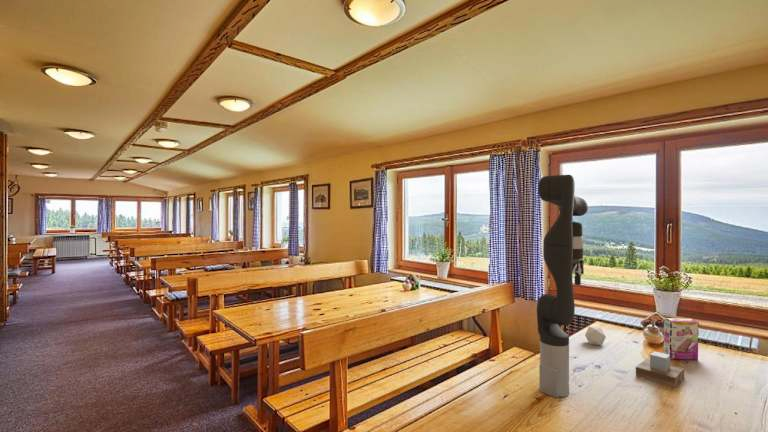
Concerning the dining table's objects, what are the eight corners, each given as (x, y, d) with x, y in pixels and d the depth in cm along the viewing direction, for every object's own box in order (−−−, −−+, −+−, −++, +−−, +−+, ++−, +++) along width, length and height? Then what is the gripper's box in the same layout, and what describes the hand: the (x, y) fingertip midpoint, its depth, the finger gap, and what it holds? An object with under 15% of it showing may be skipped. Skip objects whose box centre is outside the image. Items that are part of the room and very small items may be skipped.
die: (599, 350, 167) (611, 332, 168) (581, 337, 172) (592, 320, 172) (597, 350, 174) (609, 334, 175) (580, 338, 179) (591, 322, 179)
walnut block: (675, 389, 130) (675, 377, 130) (635, 377, 139) (635, 366, 139) (684, 379, 137) (684, 368, 137) (646, 368, 146) (646, 359, 146)
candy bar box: (670, 359, 154) (670, 320, 154) (662, 355, 159) (662, 317, 159) (699, 360, 153) (699, 321, 153) (690, 356, 158) (690, 318, 158)
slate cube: (666, 372, 134) (666, 358, 134) (650, 367, 138) (650, 354, 138) (670, 368, 137) (670, 355, 137) (654, 364, 141) (654, 351, 141)
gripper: (574, 248, 145) (574, 289, 145) (589, 246, 153) (589, 285, 154) (555, 247, 151) (555, 286, 151) (571, 245, 159) (571, 282, 159)
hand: (572, 286), depth 152 cm, fingers open, 8 cm apart
